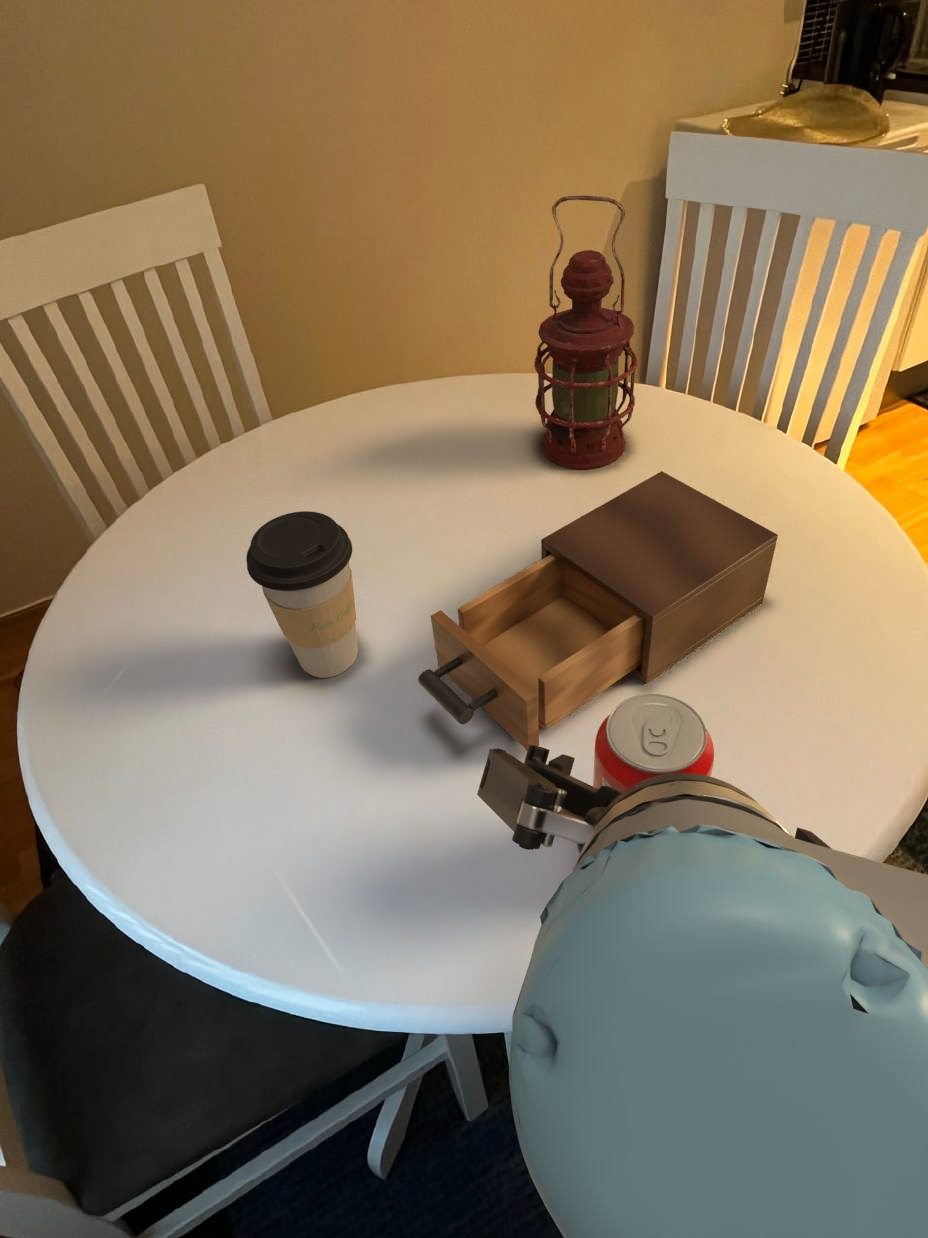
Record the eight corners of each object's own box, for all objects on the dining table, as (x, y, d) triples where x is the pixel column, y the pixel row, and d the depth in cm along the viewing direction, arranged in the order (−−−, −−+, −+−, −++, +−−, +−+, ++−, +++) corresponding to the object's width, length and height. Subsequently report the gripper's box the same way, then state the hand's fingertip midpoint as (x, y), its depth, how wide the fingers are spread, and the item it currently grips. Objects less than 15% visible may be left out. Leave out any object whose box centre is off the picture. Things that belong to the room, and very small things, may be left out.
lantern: (642, 427, 108) (660, 178, 88) (619, 480, 100) (633, 219, 80) (552, 416, 112) (549, 174, 91) (523, 465, 104) (513, 213, 84)
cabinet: (646, 684, 77) (653, 617, 71) (542, 604, 86) (540, 539, 80) (763, 602, 84) (778, 534, 78) (655, 535, 92) (661, 470, 86)
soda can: (587, 890, 63) (592, 774, 53) (592, 802, 68) (598, 681, 58) (694, 902, 62) (721, 785, 51) (691, 811, 67) (714, 688, 57)
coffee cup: (351, 699, 79) (319, 581, 68) (264, 681, 81) (220, 564, 71) (389, 631, 85) (365, 513, 75) (307, 616, 88) (273, 499, 77)
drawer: (489, 780, 70) (484, 729, 65) (400, 689, 78) (390, 638, 73) (655, 664, 77) (661, 612, 73) (559, 593, 86) (558, 541, 81)
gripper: (320, 879, 30) (456, 808, 51) (1084, 1168, 24) (888, 955, 45) (378, 681, 31) (490, 690, 51) (1148, 917, 24) (924, 820, 45)
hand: (676, 814), depth 48 cm, fingers open, 13 cm apart
